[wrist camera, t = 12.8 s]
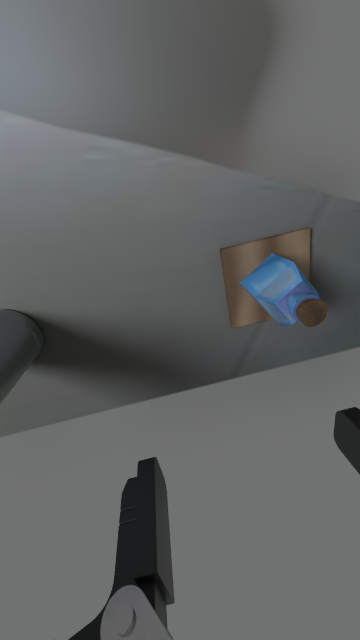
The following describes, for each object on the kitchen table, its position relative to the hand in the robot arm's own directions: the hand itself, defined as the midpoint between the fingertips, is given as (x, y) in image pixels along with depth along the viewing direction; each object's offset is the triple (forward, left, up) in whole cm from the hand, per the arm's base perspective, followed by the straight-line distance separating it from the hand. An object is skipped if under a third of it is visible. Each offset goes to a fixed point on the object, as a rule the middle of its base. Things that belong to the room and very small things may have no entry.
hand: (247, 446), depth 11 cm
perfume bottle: (+13, -4, -28) cm, 31 cm away
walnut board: (+13, -4, -29) cm, 32 cm away
